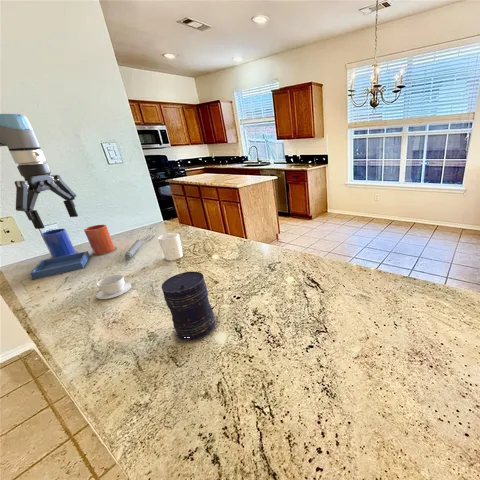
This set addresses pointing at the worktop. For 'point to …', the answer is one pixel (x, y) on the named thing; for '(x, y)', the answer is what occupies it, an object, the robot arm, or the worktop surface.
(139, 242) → the kitchen whisk
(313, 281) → the worktop surface
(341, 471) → the worktop surface
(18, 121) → the robot arm
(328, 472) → the worktop surface
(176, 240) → the white cup
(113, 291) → the teacup
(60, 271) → the blue tray
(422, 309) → the worktop surface
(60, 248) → the blue cup
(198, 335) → the storage jar
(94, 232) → the red cup
